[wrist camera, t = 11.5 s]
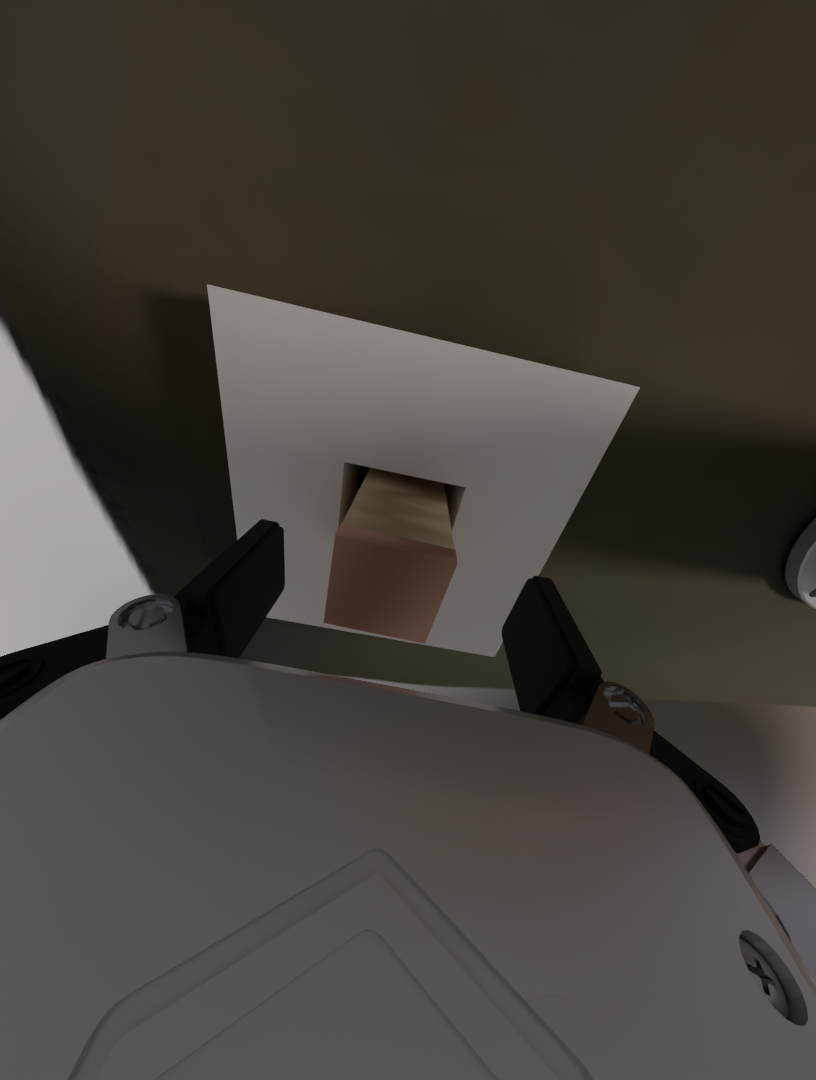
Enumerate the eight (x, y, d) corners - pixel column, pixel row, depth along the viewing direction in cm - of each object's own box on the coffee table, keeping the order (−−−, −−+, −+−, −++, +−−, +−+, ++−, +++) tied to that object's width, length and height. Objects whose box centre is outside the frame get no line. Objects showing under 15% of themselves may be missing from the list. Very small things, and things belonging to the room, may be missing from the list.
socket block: (580, 380, 15) (640, 387, 11) (481, 603, 24) (494, 656, 19) (271, 306, 15) (207, 284, 10) (279, 566, 23) (246, 613, 18)
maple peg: (442, 468, 18) (457, 562, 10) (424, 524, 20) (424, 643, 12) (377, 452, 18) (335, 534, 9) (366, 510, 20) (323, 622, 11)
